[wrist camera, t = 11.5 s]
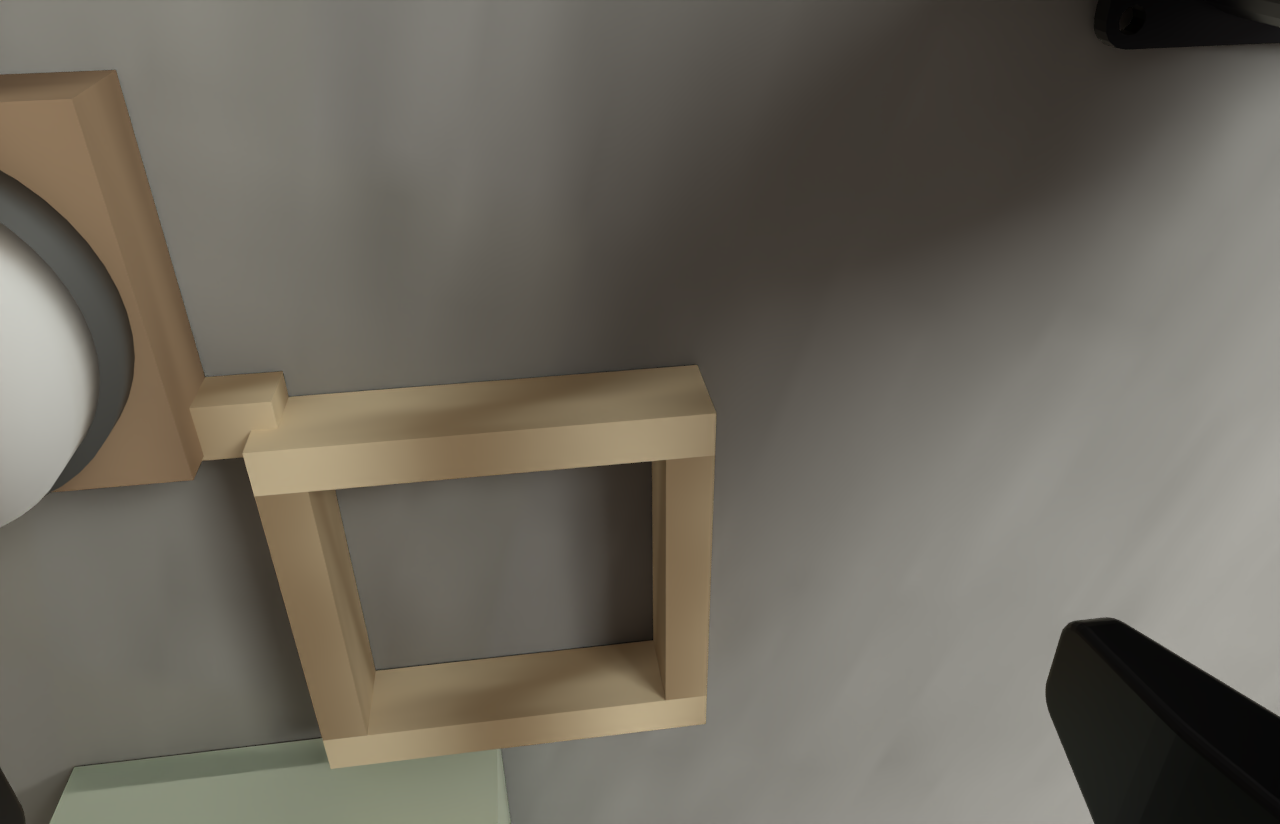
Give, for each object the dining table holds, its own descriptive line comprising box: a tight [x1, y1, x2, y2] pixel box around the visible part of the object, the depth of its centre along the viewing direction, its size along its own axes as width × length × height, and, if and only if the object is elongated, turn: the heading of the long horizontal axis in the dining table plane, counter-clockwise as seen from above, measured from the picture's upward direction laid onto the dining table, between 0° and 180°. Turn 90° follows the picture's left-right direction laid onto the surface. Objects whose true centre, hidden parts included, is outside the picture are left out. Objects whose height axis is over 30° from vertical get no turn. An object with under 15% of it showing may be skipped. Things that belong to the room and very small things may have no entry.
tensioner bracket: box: [0, 70, 716, 769], centre depth 18 cm, size 17×16×4 cm
